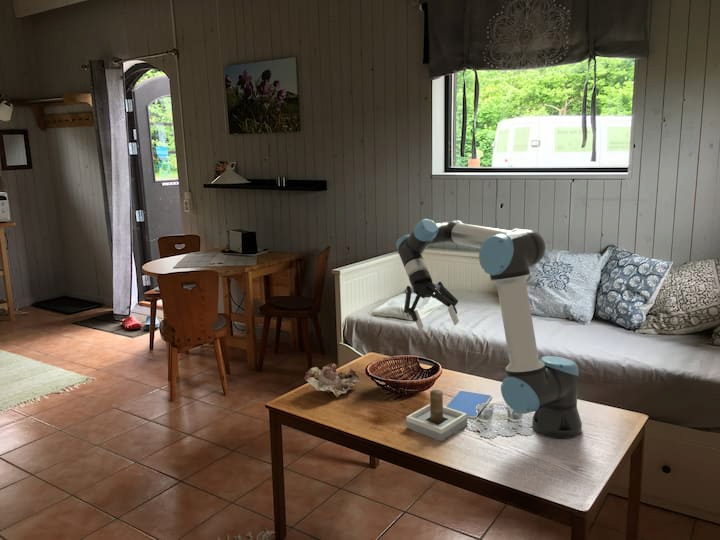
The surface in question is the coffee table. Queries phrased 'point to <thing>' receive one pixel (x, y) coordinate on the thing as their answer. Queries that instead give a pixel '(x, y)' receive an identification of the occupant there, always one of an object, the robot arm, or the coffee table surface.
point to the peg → (436, 406)
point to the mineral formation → (331, 379)
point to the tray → (423, 424)
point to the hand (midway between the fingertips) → (439, 326)
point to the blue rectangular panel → (468, 402)
